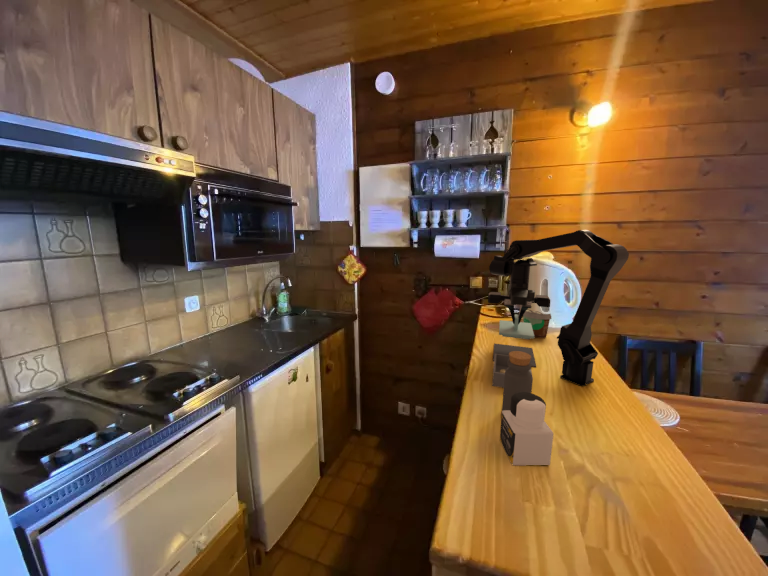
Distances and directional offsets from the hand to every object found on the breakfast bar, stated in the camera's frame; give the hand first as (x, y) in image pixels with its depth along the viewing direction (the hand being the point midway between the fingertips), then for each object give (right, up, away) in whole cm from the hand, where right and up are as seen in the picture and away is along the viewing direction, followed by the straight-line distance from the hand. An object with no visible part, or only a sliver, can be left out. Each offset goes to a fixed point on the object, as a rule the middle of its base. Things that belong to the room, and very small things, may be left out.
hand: (516, 323), depth 106 cm
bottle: (-14, -18, -32) cm, 39 cm away
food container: (+15, -7, +22) cm, 28 cm away
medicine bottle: (-17, -21, -44) cm, 52 cm away
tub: (-7, -14, -14) cm, 21 cm away
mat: (0, -11, +2) cm, 11 cm away
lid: (0, -3, +1) cm, 3 cm away
